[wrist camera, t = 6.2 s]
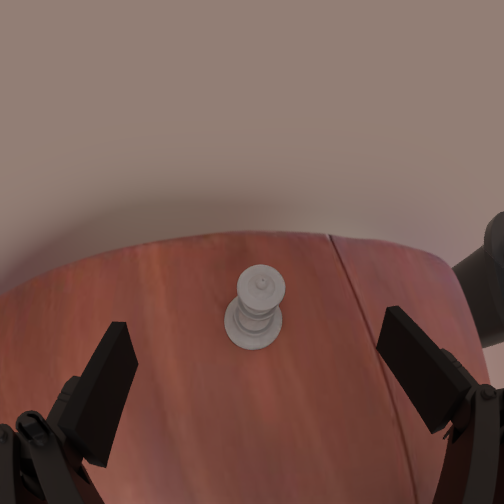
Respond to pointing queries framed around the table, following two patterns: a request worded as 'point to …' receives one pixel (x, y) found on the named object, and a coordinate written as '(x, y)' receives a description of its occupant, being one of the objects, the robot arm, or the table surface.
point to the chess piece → (256, 308)
